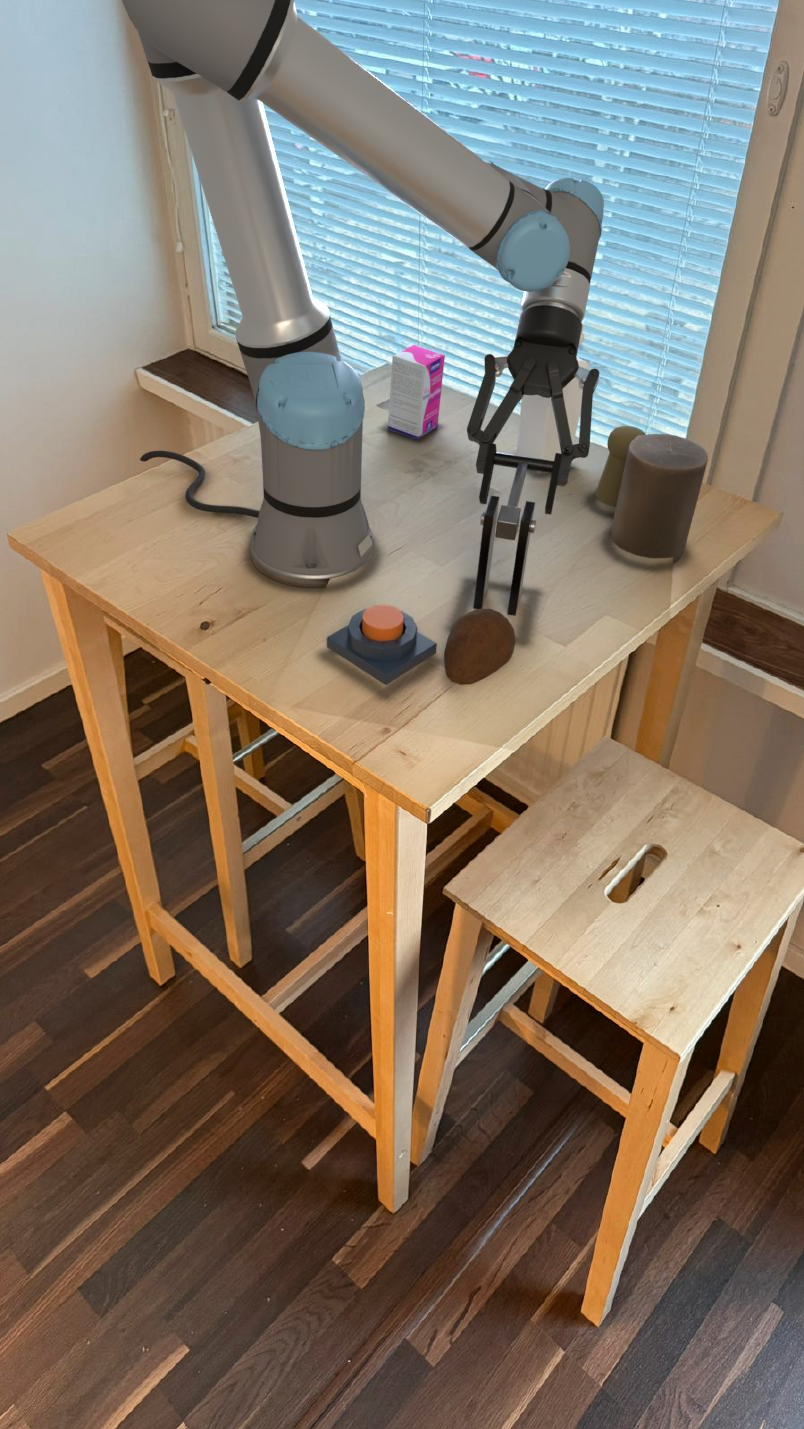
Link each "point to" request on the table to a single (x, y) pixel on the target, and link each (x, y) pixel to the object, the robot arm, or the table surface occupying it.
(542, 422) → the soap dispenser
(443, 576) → the table surface
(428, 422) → the supplement box
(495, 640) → the potato
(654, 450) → the pillar candle
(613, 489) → the olive pawn
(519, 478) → the lever
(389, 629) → the button
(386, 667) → the button block
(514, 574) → the lever bracket
